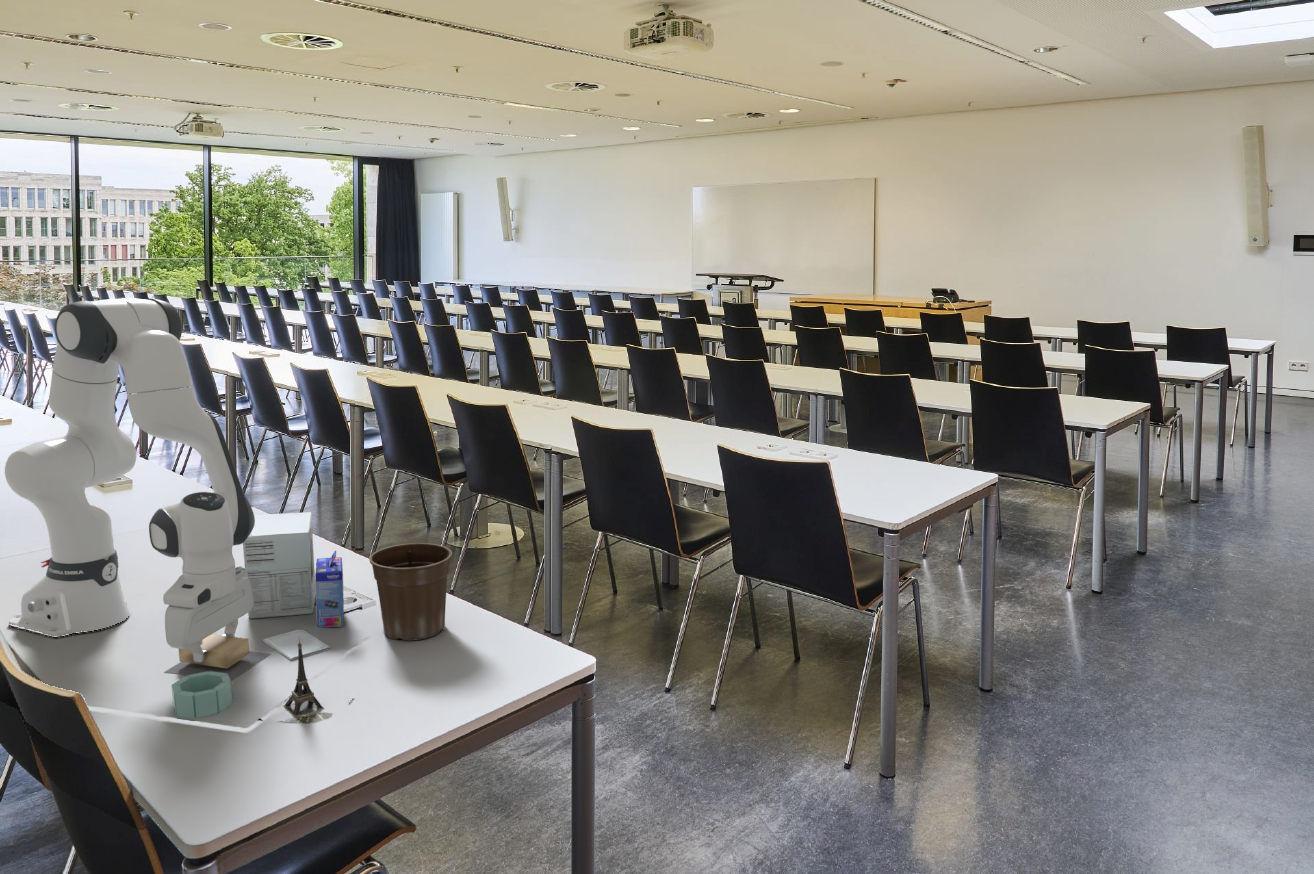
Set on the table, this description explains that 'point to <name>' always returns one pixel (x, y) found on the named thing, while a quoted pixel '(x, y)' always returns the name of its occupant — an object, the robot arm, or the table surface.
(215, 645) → the lid
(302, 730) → the table surface
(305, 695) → the eiffel tower figurine
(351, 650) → the table surface
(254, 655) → the mat
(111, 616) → the robot arm
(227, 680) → the bowl
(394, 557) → the plant pot
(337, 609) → the ink cartridge box
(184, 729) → the table surface
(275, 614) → the supplement box
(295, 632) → the hard drive
